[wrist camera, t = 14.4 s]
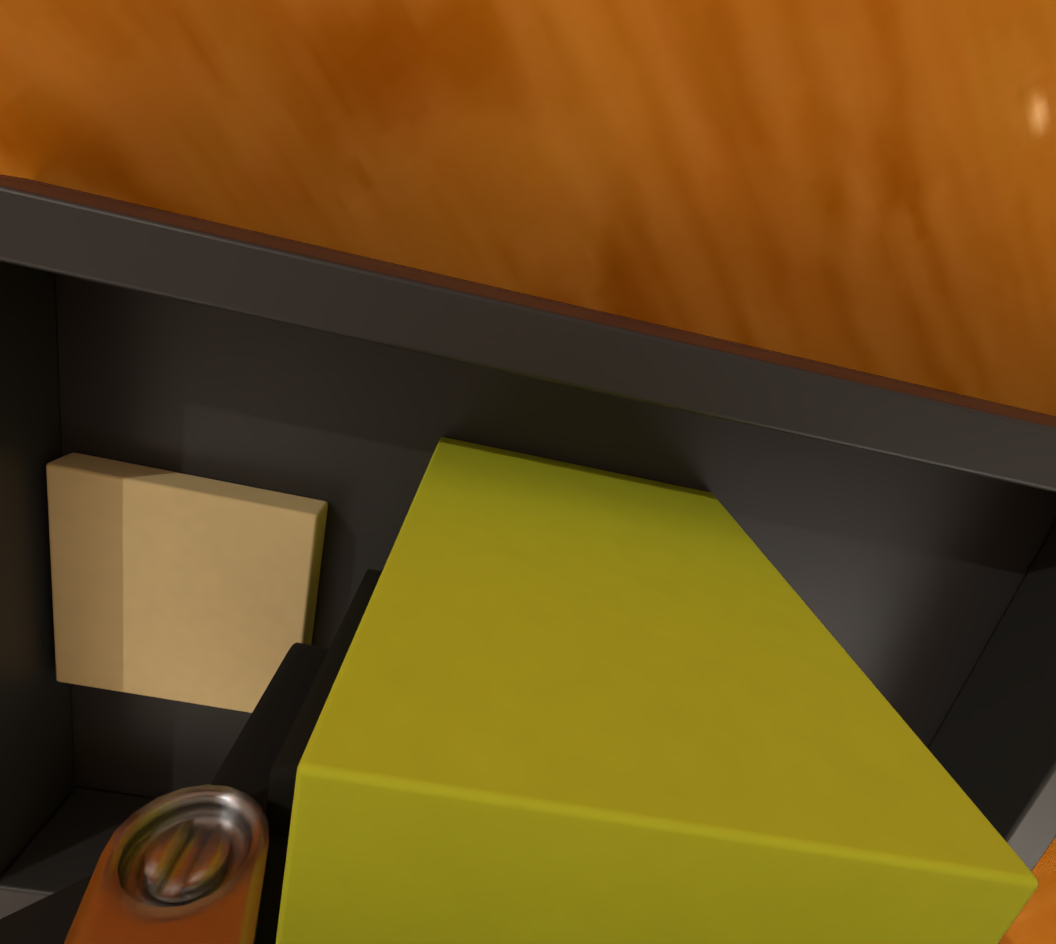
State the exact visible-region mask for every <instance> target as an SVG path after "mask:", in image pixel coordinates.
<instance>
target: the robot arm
mask: <svg viewBox="0 0 1056 944" xmlns="http://www.w3.org/2000/svg"><path fill="white" fill-rule="evenodd" d="M381 573H382V571H379V570H374V569H368V570H367V571H366V573H365V575H364V577H363V579H362V582H361V584H360V586H359V588H358V590H357V592H356V594H355V596H354V598H353V600H352V602H351V604H350V607H349V609H348V611H347V613H346V615H345V617H344V619H343V621H342V623H341V625H340V627H339V629H338V631H337V634H336V636H335V638H334V640H333V642H332V644H331V646H330V648H326V647H321V646H315V645H309V644H303V643H297V642H296V643H294V644H293V645H292V646H291V648H290V649H289V650H288V652H287V654H286V655H285V657H284V659H283V661H282V662H281V664H280V666H279V667H278V669H277V671H276V673H275V674H274V676H273V678H272V680H271V681H270V683H269V685H268V686H267V688H266V690H265V692H264V693H263V695H262V697H261V698H260V700H259V702H258V704H257V705H256V707H255V709H254V710H253V712H252V714H251V716H250V717H249V719H248V721H247V722H246V724H245V726H244V728H243V729H242V731H241V733H240V734H239V736H238V738H237V740H236V741H235V743H234V745H233V746H232V748H231V750H230V752H229V753H228V755H227V757H226V758H225V760H224V762H223V764H222V765H221V767H220V769H219V770H218V772H217V774H216V776H215V777H214V779H213V781H212V782H211V784H210V785H207V784H206V785H199V786H193V787H186V788H181V789H179V790H176V791H173V792H171V793H168V794H165V795H163V796H160V797H157V798H156V799H154V800H153V801H151V802H149V803H148V804H146V805H145V806H143V807H142V808H140V809H138V810H137V811H135V812H134V813H133V814H132V815H131V816H130V817H129V818H128V819H127V820H126V821H125V822H124V823H123V824H122V825H121V826H120V827H119V828H118V829H117V830H116V831H115V832H114V833H113V835H112V837H111V838H110V840H109V842H108V843H107V845H106V847H105V848H104V850H103V852H102V853H101V856H100V858H99V860H98V863H97V865H96V868H95V870H94V872H93V874H92V875H90V876H88V877H86V878H84V879H82V880H80V881H78V882H76V883H74V884H72V885H70V886H68V887H65V888H63V889H61V890H59V891H57V892H55V893H53V894H51V895H49V896H47V897H45V898H43V899H41V900H39V901H37V902H35V903H33V904H31V905H28V906H26V907H24V908H22V909H20V910H18V911H16V912H14V913H12V914H10V915H8V916H6V917H4V918H2V919H0V944H276V936H277V928H278V920H279V912H280V903H281V895H282V887H283V879H284V871H285V863H286V855H287V846H288V838H289V830H290V822H291V814H292V806H293V798H294V789H295V781H296V773H297V767H298V765H299V762H300V760H301V758H302V755H303V753H304V751H305V748H306V746H307V744H308V742H309V739H310V737H311V735H312V732H313V730H314V728H315V725H316V723H317V721H318V719H319V716H320V714H321V712H322V709H323V707H324V705H325V702H326V700H327V698H328V695H329V693H330V691H331V689H332V686H333V684H334V682H335V679H336V677H337V675H338V672H339V670H340V668H341V665H342V663H343V661H344V659H345V656H346V654H347V652H348V649H349V647H350V645H351V642H352V640H353V638H354V635H355V633H356V631H357V629H358V626H359V624H360V622H361V619H362V617H363V615H364V612H365V610H366V608H367V606H368V603H369V601H370V599H371V596H372V594H373V592H374V589H375V587H376V585H377V582H378V580H379V578H380V576H381Z"/></svg>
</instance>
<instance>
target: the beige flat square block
mask: <svg viewBox="0 0 1056 944" xmlns="http://www.w3.org/2000/svg"><path fill="white" fill-rule="evenodd" d="M46 477H47V498H48V519H49V540H50V560H51V581H52V602H53V623H54V644H55V664H56V680H57V681H58V682H64V683H70V684H76V685H82V686H89V687H95V688H101V689H107V690H113V691H120V692H126V693H132V694H138V695H144V696H150V697H157V698H163V699H169V700H175V701H181V702H188V703H194V704H200V705H206V706H212V707H218V708H225V709H231V710H237V711H243V712H249V713H252V712H253V710H254V709H255V707H256V705H257V704H258V702H259V700H260V698H261V697H262V695H263V693H264V692H265V690H266V688H267V686H268V685H269V683H270V681H271V680H272V678H273V676H274V674H275V673H276V671H277V669H278V667H279V666H280V664H281V662H282V661H283V659H284V657H285V655H286V654H287V652H288V650H289V649H290V648H291V646H292V645H293V644H294V643H296V642H297V643H303V644H309V645H311V643H312V635H313V626H314V618H315V610H316V601H317V593H318V585H319V576H320V568H321V560H322V552H323V543H324V535H325V527H326V518H327V510H328V502H326V501H322V500H316V499H311V498H306V497H301V496H296V495H291V494H286V493H280V492H275V491H270V490H265V489H260V488H255V487H250V486H244V485H239V484H234V483H229V482H224V481H219V480H213V479H208V478H203V477H198V476H193V475H188V474H183V473H177V472H172V471H167V470H162V469H157V468H152V467H147V466H141V465H136V464H131V463H126V462H121V461H116V460H111V459H105V458H100V457H95V456H90V455H85V454H80V453H70V454H68V455H65V456H63V457H61V458H58V459H56V460H54V461H51V462H49V463H47V465H46Z"/></svg>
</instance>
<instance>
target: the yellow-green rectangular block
mask: <svg viewBox="0 0 1056 944" xmlns="http://www.w3.org/2000/svg"><path fill="white" fill-rule="evenodd" d="M1037 888H1038V881H1037V878H1036V876H1035V875H1034V874H1033V873H1032V872H1031V870H1030V869H1029V868H1028V867H1027V866H1026V865H1025V863H1024V862H1023V861H1022V860H1021V859H1020V857H1019V856H1018V855H1017V854H1016V853H1015V851H1014V850H1013V849H1012V848H1011V847H1010V846H1009V844H1008V843H1007V842H1006V841H1005V840H1004V838H1003V837H1002V836H1001V835H1000V834H999V833H998V831H997V830H996V829H995V828H994V827H993V825H992V824H991V823H990V822H989V821H988V819H987V818H986V817H985V816H984V815H983V814H982V812H981V811H980V810H979V809H978V808H977V806H976V805H975V804H974V803H973V802H972V801H971V799H970V798H969V797H968V796H967V795H966V793H965V792H964V791H963V790H962V789H961V787H960V786H959V785H958V784H957V783H956V782H955V780H954V779H953V778H952V777H951V776H950V774H949V773H948V772H947V771H946V770H945V769H944V767H943V766H942V765H941V764H940V763H939V761H938V760H937V759H936V758H935V757H934V755H933V754H932V753H931V752H930V751H929V750H928V748H927V747H926V746H925V745H924V744H923V742H922V741H921V740H920V739H919V738H918V736H917V735H916V734H915V733H914V732H913V731H912V729H911V728H910V727H909V726H908V725H907V723H906V722H905V721H904V720H903V719H902V718H901V716H900V715H899V714H898V713H897V712H896V710H895V709H894V708H893V707H892V706H891V704H890V703H889V702H888V701H887V700H886V699H885V697H884V696H883V695H882V694H881V693H880V691H879V690H878V689H877V688H876V687H875V686H874V684H873V683H872V682H871V681H870V680H869V678H868V677H867V676H866V675H865V674H864V672H863V671H862V670H861V669H860V668H859V667H858V665H857V664H856V663H855V662H854V661H853V659H852V658H851V657H850V656H849V655H848V654H847V652H846V651H845V650H844V649H843V648H842V646H841V645H840V644H839V643H838V642H837V640H836V639H835V638H834V637H833V636H832V635H831V633H830V632H829V631H828V630H827V629H826V627H825V626H824V625H823V624H822V623H821V622H820V620H819V619H818V618H817V617H816V616H815V614H814V613H813V612H812V611H811V610H810V608H809V607H808V606H807V605H806V604H805V603H804V601H803V600H802V599H801V598H800V597H799V595H798V594H797V593H796V592H795V591H794V589H793V588H792V587H791V586H790V585H789V584H788V582H787V581H786V580H785V579H784V578H783V576H782V575H781V574H780V573H779V572H778V571H777V569H776V568H775V567H774V566H773V565H772V563H771V562H770V561H769V560H768V559H767V557H766V556H765V555H764V554H763V553H762V552H761V550H760V549H759V548H758V547H757V546H756V544H755V543H754V542H753V541H752V540H751V539H750V537H749V536H748V535H747V534H746V533H745V531H744V530H743V529H742V528H741V527H740V525H739V524H738V523H737V522H736V521H735V520H734V518H733V517H732V516H731V515H730V514H729V512H728V511H727V510H726V509H725V508H724V507H723V505H722V504H721V503H720V502H719V501H718V499H717V498H716V497H715V496H714V495H713V494H712V493H711V492H706V491H701V490H696V489H691V488H687V487H682V486H677V485H672V484H667V483H662V482H658V481H653V480H648V479H643V478H638V477H634V476H629V475H624V474H619V473H614V472H609V471H605V470H600V469H595V468H590V467H585V466H581V465H576V464H571V463H566V462H561V461H556V460H552V459H547V458H542V457H537V456H532V455H527V454H523V453H518V452H513V451H508V450H503V449H499V448H494V447H489V446H484V445H479V444H474V443H470V442H465V441H460V440H455V439H450V438H446V437H441V438H440V440H439V442H438V444H437V446H436V449H435V451H434V453H433V456H432V458H431V460H430V463H429V465H428V467H427V469H426V472H425V474H424V476H423V479H422V481H421V483H420V486H419V488H418V490H417V493H416V495H415V497H414V499H413V502H412V504H411V506H410V509H409V511H408V513H407V516H406V518H405V520H404V523H403V525H402V527H401V529H400V532H399V534H398V536H397V539H396V541H395V543H394V546H393V548H392V550H391V552H390V555H389V557H388V559H387V562H386V564H385V566H384V569H383V571H382V573H381V576H380V578H379V580H378V582H377V585H376V587H375V589H374V592H373V594H372V596H371V599H370V601H369V603H368V606H367V608H366V610H365V612H364V615H363V617H362V619H361V622H360V624H359V626H358V629H357V631H356V633H355V635H354V638H353V640H352V642H351V645H350V647H349V649H348V652H347V654H346V656H345V659H344V661H343V663H342V665H341V668H340V670H339V672H338V675H337V677H336V679H335V682H334V684H333V686H332V689H331V691H330V693H329V695H328V698H327V700H326V702H325V705H324V707H323V709H322V712H321V714H320V716H319V719H318V721H317V723H316V725H315V728H314V730H313V732H312V735H311V737H310V739H309V742H308V744H307V746H306V748H305V751H304V753H303V755H302V758H301V760H300V762H299V765H298V767H297V773H296V781H295V789H294V798H293V806H292V814H291V822H290V830H289V838H288V846H287V855H286V863H285V871H284V879H283V887H282V895H281V903H280V912H279V920H278V928H277V936H276V944H998V943H999V941H1000V940H1001V939H1002V937H1003V936H1004V934H1005V933H1006V931H1007V930H1008V929H1009V927H1010V926H1011V924H1012V923H1013V922H1014V920H1015V919H1016V917H1017V916H1018V914H1019V913H1020V912H1021V910H1022V909H1023V907H1024V906H1025V905H1026V903H1027V902H1028V900H1029V899H1030V897H1031V896H1032V895H1033V893H1034V892H1035V890H1036V889H1037Z"/></svg>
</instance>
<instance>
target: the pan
mask: <svg viewBox="0 0 1056 944" xmlns="http://www.w3.org/2000/svg"><path fill="white" fill-rule="evenodd" d="M441 437H446V438H450V439H455V440H460V441H465V442H470V443H474V444H479V445H484V446H489V447H494V448H499V449H503V450H508V451H513V452H518V453H523V454H527V455H532V456H537V457H542V458H547V459H552V460H556V461H561V462H566V463H571V464H576V465H581V466H585V467H590V468H595V469H600V470H605V471H609V472H614V473H619V474H624V475H629V476H634V477H638V478H643V479H648V480H653V481H658V482H662V483H667V484H672V485H677V486H682V487H687V488H691V489H696V490H701V491H706V492H711V493H712V494H713V495H714V496H715V497H716V498H717V499H718V501H719V502H720V503H721V504H722V505H723V507H724V508H725V509H726V510H727V511H728V512H729V514H730V515H731V516H732V517H733V518H734V520H735V521H736V522H737V523H738V524H739V525H740V527H741V528H742V529H743V530H744V531H745V533H746V534H747V535H748V536H749V537H750V539H751V540H752V541H753V542H754V543H755V544H756V546H757V547H758V548H759V549H760V550H761V552H762V553H763V554H764V555H765V556H766V557H767V559H768V560H769V561H770V562H771V563H772V565H773V566H774V567H775V568H776V569H777V571H778V572H779V573H780V574H781V575H782V576H783V578H784V579H785V580H786V581H787V582H788V584H789V585H790V586H791V587H792V588H793V589H794V591H795V592H796V593H797V594H798V595H799V597H800V598H801V599H802V600H803V601H804V603H805V604H806V605H807V606H808V607H809V608H810V610H811V611H812V612H813V613H814V614H815V616H816V617H817V618H818V619H819V620H820V622H821V623H822V624H823V625H824V626H825V627H826V629H827V630H828V631H829V632H830V633H831V635H832V636H833V637H834V638H835V639H836V640H837V642H838V643H839V644H840V645H841V646H842V648H843V649H844V650H845V651H846V652H847V654H848V655H849V656H850V657H851V658H852V659H853V661H854V662H855V663H856V664H857V665H858V667H859V668H860V669H861V670H862V671H863V672H864V674H865V675H866V676H867V677H868V678H869V680H870V681H871V682H872V683H873V684H874V686H875V687H876V688H877V689H878V690H879V691H880V693H881V694H882V695H883V696H884V697H885V699H886V700H887V701H888V702H889V703H890V704H891V706H892V707H893V708H894V709H895V710H896V712H897V713H898V714H899V715H900V716H901V718H902V719H903V720H904V721H905V722H906V723H907V725H908V726H909V727H910V728H911V729H912V731H913V732H914V733H915V734H916V735H917V736H918V738H919V739H920V740H921V741H922V742H923V744H924V745H925V746H926V747H927V748H928V750H929V751H930V752H931V753H932V754H933V755H934V757H935V758H936V759H937V760H938V761H939V763H940V764H941V765H942V766H943V767H944V769H945V770H946V771H947V772H948V773H949V774H950V776H951V777H952V778H953V779H954V780H955V782H956V783H957V784H958V785H959V786H960V787H961V789H962V790H963V791H964V792H965V793H966V795H967V796H968V797H969V798H970V799H971V801H972V802H973V803H974V804H975V805H976V806H977V808H978V809H979V810H980V811H981V812H982V814H983V815H984V816H985V817H986V818H987V819H988V821H989V822H990V823H991V824H992V825H993V827H994V828H995V829H996V830H997V831H998V833H999V834H1000V835H1001V836H1002V837H1003V838H1004V840H1005V841H1006V842H1007V843H1008V844H1009V846H1010V847H1011V848H1012V849H1013V850H1014V851H1015V853H1016V854H1017V855H1018V856H1019V857H1020V859H1021V860H1022V861H1023V862H1024V863H1025V865H1026V866H1027V867H1028V868H1029V869H1030V870H1031V871H1032V870H1033V868H1034V867H1035V866H1036V864H1037V863H1038V861H1039V860H1040V858H1041V857H1042V855H1043V854H1044V853H1045V851H1046V850H1047V848H1048V847H1049V845H1050V844H1051V843H1052V841H1053V840H1054V838H1055V837H1056V417H1055V416H1051V415H1046V414H1042V413H1038V412H1033V411H1029V410H1025V409H1020V408H1016V407H1012V406H1007V405H1003V404H999V403H995V402H990V401H986V400H982V399H977V398H973V397H969V396H964V395H960V394H956V393H951V392H947V391H943V390H938V389H934V388H930V387H925V386H921V385H917V384H912V383H908V382H904V381H899V380H895V379H891V378H886V377H882V376H878V375H873V374H869V373H865V372H860V371H856V370H852V369H847V368H843V367H839V366H834V365H830V364H826V363H821V362H817V361H813V360H808V359H804V358H800V357H795V356H791V355H787V354H782V353H778V352H774V351H770V350H765V349H761V348H757V347H752V346H748V345H744V344H739V343H735V342H731V341H726V340H722V339H718V338H713V337H709V336H705V335H700V334H696V333H692V332H687V331H683V330H679V329H674V328H670V327H666V326H661V325H657V324H653V323H648V322H644V321H640V320H635V319H631V318H627V317H622V316H618V315H614V314H609V313H605V312H601V311H596V310H592V309H588V308H583V307H579V306H575V305H570V304H566V303H562V302H557V301H553V300H549V299H545V298H540V297H536V296H532V295H527V294H523V293H519V292H514V291H510V290H506V289H501V288H497V287H493V286H488V285H484V284H480V283H475V282H471V281H467V280H462V279H458V278H454V277H449V276H445V275H441V274H436V273H432V272H428V271H423V270H419V269H415V268H410V267H406V266H402V265H397V264H393V263H389V262H384V261H380V260H376V259H371V258H367V257H363V256H358V255H354V254H350V253H345V252H341V251H337V250H332V249H328V248H324V247H319V246H315V245H311V244H307V243H302V242H298V241H294V240H289V239H285V238H281V237H276V236H272V235H268V234H263V233H259V232H255V231H250V230H246V229H242V228H237V227H233V226H229V225H224V224H220V223H216V222H211V221H207V220H203V219H198V218H194V217H190V216H185V215H181V214H177V213H172V212H168V211H164V210H159V209H155V208H151V207H146V206H142V205H138V204H133V203H129V202H125V201H120V200H116V199H112V198H107V197H103V196H99V195H94V194H90V193H86V192H82V191H77V190H73V189H69V188H64V187H60V186H56V185H51V184H47V183H43V182H38V181H34V180H30V179H25V178H19V177H13V176H7V175H1V174H0V919H2V918H4V917H6V916H8V915H10V914H12V913H14V912H16V911H18V910H20V909H22V908H24V907H26V906H28V905H31V904H33V903H35V902H37V901H39V900H41V899H43V898H45V897H47V896H49V895H51V894H53V893H55V892H57V891H59V890H61V889H63V888H65V887H68V886H70V885H72V884H74V883H76V882H78V881H80V880H82V879H84V878H86V877H88V876H90V875H92V874H93V872H94V870H95V868H96V865H97V863H98V860H99V858H100V856H101V853H102V852H103V850H104V848H105V847H106V845H107V843H108V842H109V840H110V838H111V837H112V835H113V833H114V832H115V831H116V830H117V829H118V828H119V827H120V826H121V825H122V824H123V823H124V822H125V821H126V820H127V819H128V818H129V817H130V816H131V815H132V814H133V813H134V812H135V811H137V810H138V809H140V808H142V807H143V806H145V805H146V804H148V803H149V802H151V801H153V800H154V799H156V798H157V797H160V796H163V795H165V794H168V793H171V792H173V791H176V790H179V789H181V788H186V787H193V786H199V785H206V784H207V785H210V784H211V782H212V781H213V779H214V777H215V776H216V774H217V772H218V770H219V769H220V767H221V765H222V764H223V762H224V760H225V758H226V757H227V755H228V753H229V752H230V750H231V748H232V746H233V745H234V743H235V741H236V740H237V738H238V736H239V734H240V733H241V731H242V729H243V728H244V726H245V724H246V722H247V721H248V719H249V717H250V716H251V714H252V713H249V712H243V711H237V710H231V709H225V708H218V707H212V706H206V705H200V704H194V703H188V702H181V701H175V700H169V699H163V698H157V697H150V696H144V695H138V694H132V693H126V692H120V691H113V690H107V689H101V688H95V687H89V686H82V685H76V684H70V683H64V682H58V681H57V680H56V664H55V644H54V623H53V602H52V581H51V560H50V540H49V519H48V498H47V477H46V465H47V463H49V462H51V461H54V460H56V459H58V458H61V457H63V456H65V455H68V454H70V453H80V454H85V455H90V456H95V457H100V458H105V459H111V460H116V461H121V462H126V463H131V464H136V465H141V466H147V467H152V468H157V469H162V470H167V471H172V472H177V473H183V474H188V475H193V476H198V477H203V478H208V479H213V480H219V481H224V482H229V483H234V484H239V485H244V486H250V487H255V488H260V489H265V490H270V491H275V492H280V493H286V494H291V495H296V496H301V497H306V498H311V499H316V500H322V501H326V502H328V510H327V518H326V527H325V535H324V543H323V552H322V560H321V568H320V576H319V585H318V593H317V601H316V610H315V618H314V626H313V635H312V643H311V645H315V646H321V647H326V648H330V646H331V644H332V642H333V640H334V638H335V636H336V634H337V631H338V629H339V627H340V625H341V623H342V621H343V619H344V617H345V615H346V613H347V611H348V609H349V607H350V604H351V602H352V600H353V598H354V596H355V594H356V592H357V590H358V588H359V586H360V584H361V582H362V579H363V577H364V575H365V573H366V571H367V570H368V569H374V570H379V571H383V569H384V566H385V564H386V562H387V559H388V557H389V555H390V552H391V550H392V548H393V546H394V543H395V541H396V539H397V536H398V534H399V532H400V529H401V527H402V525H403V523H404V520H405V518H406V516H407V513H408V511H409V509H410V506H411V504H412V502H413V499H414V497H415V495H416V493H417V490H418V488H419V486H420V483H421V481H422V479H423V476H424V474H425V472H426V469H427V467H428V465H429V463H430V460H431V458H432V456H433V453H434V451H435V449H436V446H437V444H438V442H439V440H440V438H441Z"/></svg>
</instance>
